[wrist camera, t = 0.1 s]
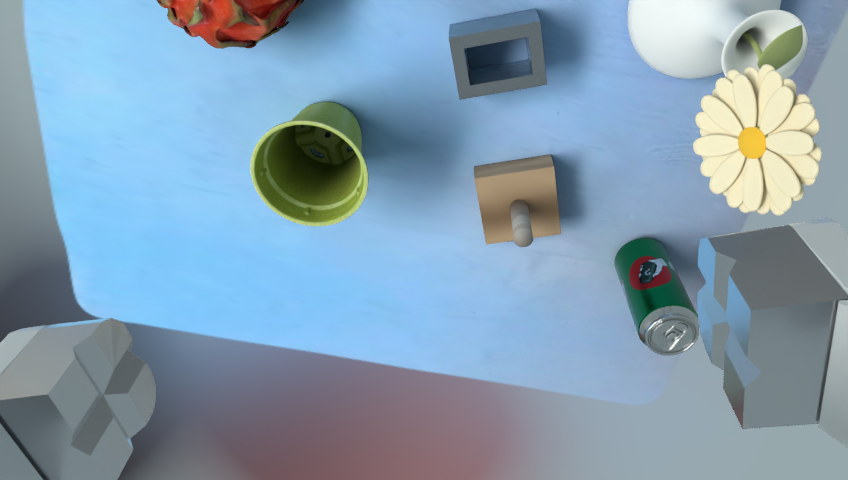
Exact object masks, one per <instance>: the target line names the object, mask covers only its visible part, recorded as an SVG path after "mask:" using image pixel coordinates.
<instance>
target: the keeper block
mask: <svg viewBox="0 0 848 480" xmlns="http://www.w3.org/2000/svg"><path fill="white" fill-rule="evenodd" d="M474 172H475V183H476V189H477V195H478V200H479V206H480V212H481V217H482V223H483V229H484V234H485V240H486V244H492V243H499V242H507V241H514V242H515V244H516V245H518V246H520V247H527V246H529V245H530V244H531V243H532V242H533V238H535V237H543V236H550V235H557V234H561V228H560V218H559V209H558V199H557V189H556V180H555V170H554V164H553V160H552V157H551V155H545V156H538V157H532V158H525V159H519V160H513V161H506V162H500V163H493V164H487V165H481V166H474Z"/></svg>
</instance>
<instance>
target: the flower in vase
mask: <svg viewBox="0 0 848 480" xmlns="http://www.w3.org/2000/svg"><path fill="white" fill-rule="evenodd" d="M780 4H781V0H630V1H629V6H628V29H629V34H630V37H631V40H632V43H633V45H634V47H635V49H636V51H637V53H638V54H639V55H640V57H641V58H642V59H643V60H644V61H645V62H646V63H647V64H648V65H649V66H651V67H652V68H653V69H655V70H657V71H659V72H661V73H662V74H665V75H668V76H671V77H676V78H685V79H693V78H703V77H709V76H713V75H716V74H719V73H722V72H724V74H725V76H726V78H719V79H718V80H717V82H716V88H715V89H714V90H713V92H712V96H711V95H706V96H704V97H703V98H702V100H701V107H702V109H703V112H699V113H698V114H697V115H696V118H695V121H696V124H697V126H698V127H699V128H700V134H701V136H702V137H700V138H698V139H697V140H696V141H695V142H694V145H693V148H694V151H695V152H696V154H698V155H700V156H702V157H703V160H704V161H703V162H702V164H701V172H702V174H703V175H704V176H706V177H710V178H711V180H710V183H709V186H710V189H711V191H712V192H713V193H715V194H720V193H723V195H724V196H726V197H727V203H728V204H729V206H731V207H732V208H736V207H738V206H739V209H740V210H741V211H742V212H744V213H748V212H750V211H751V212H754V211H757V212H758V213H760V214H766V213H767V212H768V211H769V210H770V209H771V210H772V212H773V213H774V214H776V215H778V216H779V215H783V214H784V213H785V211H787V210H788V209H789V208H790V207H791V205H792V200H794V201H799V200H800V199H801V198H802V197H803V195H804V187H803V184H805V185H812V184H813V183H814V182H815V180H816V176H817V175H818V173H819V164H818V162H819V161H820V159H821V156H822V152H821V149H820V147H819V146H818V145H816V144H815V143H814V142H813V139H812V137H814V136H815V135H816V134H817V133H818V132H819V129H820V124H819V121H818V120H817V119H816V118H815V109H814V107H813V106H812V105H811V101H810V99H809V97H808V96H806V95H805V94H799V95H797V96H796V85H795V83H794V82H793V81H792V80H790V79H788V78H789V77H790V76H791V75H792V74H793V73H794V72H795V71H796V70H797V68H798V67H799V66H800V64H801V62H802V60H803V58H804V56H805V53H806V50H807V45H808V36H807V31H806V28H805V26H804V24H803V23H802V21H801V20H800V19H799V18H798V17H797V16H795V15H794V14H792V13H790V12H787V11H783V10H779V9H780Z"/></svg>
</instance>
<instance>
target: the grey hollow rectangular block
mask: <svg viewBox="0 0 848 480" xmlns="http://www.w3.org/2000/svg"><path fill="white" fill-rule="evenodd" d="M524 37H526V41H527V50H528V60H522V61H517V62H511V63H506V64H500V65H494V66H489V67H483V68H478V69H472V70H469V64H468V58H467V51H466V48H470V47H475V46H480V45H486V44H491V43H497V42H502V41H508V40H513V39H519V38H524ZM449 42H450V48H451V53H452V59H453V65H454V70H455V76H456V82H457V87H458V93H459V99H466V98H472V97H478V96H483V95H489V94H495V93H501V92H507V91H513V90H518V89H524V88H530V87H536V86H542V85H547V80H546V71H545V61H544V51H543V41H542V32H541V22H540V19H539V16H538V14H537V11H536V9H531V10H525V11H520V12H515V13H510V14H504V15H499V16H494V17H488V18H483V19H478V20H473V21H467V22H462V23H457V24H451V25H450V28H449Z"/></svg>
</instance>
